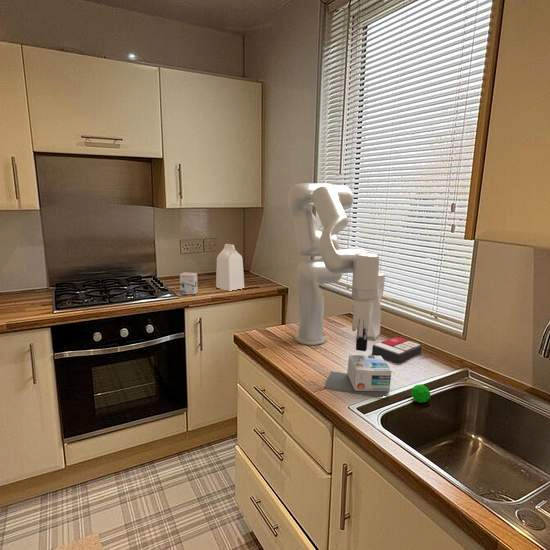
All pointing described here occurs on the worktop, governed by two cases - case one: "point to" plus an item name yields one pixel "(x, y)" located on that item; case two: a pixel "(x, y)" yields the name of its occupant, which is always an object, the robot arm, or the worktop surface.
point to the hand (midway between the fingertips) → (361, 349)
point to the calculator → (396, 350)
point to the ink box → (188, 283)
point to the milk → (229, 269)
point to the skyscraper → (376, 310)
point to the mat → (348, 385)
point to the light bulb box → (369, 373)
